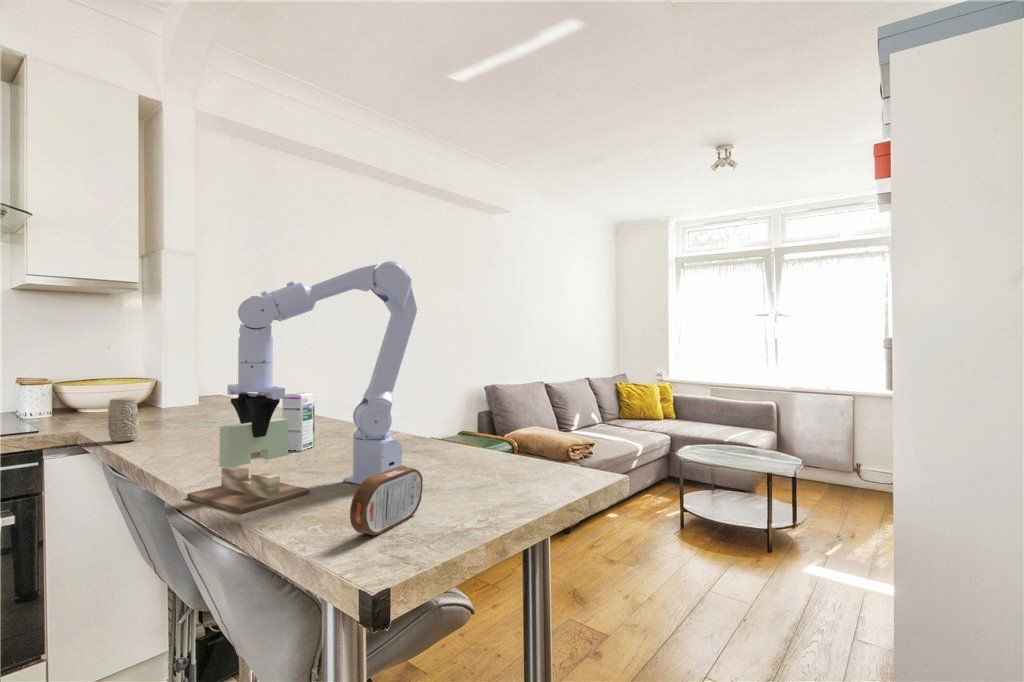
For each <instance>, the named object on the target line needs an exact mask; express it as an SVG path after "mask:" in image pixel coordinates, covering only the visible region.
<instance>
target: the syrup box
mask: <svg viewBox="0 0 1024 682" xmlns="http://www.w3.org/2000/svg"><path fill="white" fill-rule="evenodd" d="M281 401H282V402H281V404H282V405H281V407H282V412H281V413H282V415H281V416H282V417H281V418H283V419H289V426H288V450H296V451H295V452H303V451H306V450H309V449H312V448H314V447H316V443H315V442H316V437H315V433H316V432H315V425H316V424H315V421H316V420H315V418H316V417H315V415H316V414H315V411H316V410H315V392H308V391H307V392H306V391H302V392H300V391H299V392H293V393H287V394H286V393H285V399H281ZM311 447H312V448H311ZM308 448H309V449H308Z"/></svg>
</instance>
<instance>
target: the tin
mask: <svg viewBox="0 0 1024 682" xmlns="http://www.w3.org/2000/svg"><path fill="white" fill-rule="evenodd" d="M423 482H424V480H423V475H422V473H421V471H419V470H418V469H416V468H413V467H410V466H406V465H403V464H402V466H398V467H395V468H392V469H389V470H386V471H383V472H380V473H377V474H374V475H371V476H369V477H367V478H366V479H365V480H364V481H363V482H362V483H361V484H358V485H359V486H358V487H357V489H356V490H355V492H354V495H353V497H352V500H351V504H350V508H349V518H350V519H349V521H350V524H351V526H352V528H353V530H354V531H355V532H357V533H360V534H365V535H370V536H377V535H380V534H382V533H384V532H386V531H388V530H390V529H392V528H394V527H396V526H398V525H399V524H402V523H404V522H405V521H407V520H409V519H411V518H412V517H413V516H414V515H415V513H416V512H417V511H418V509H419V506H420V504H421V502H422V494H423Z"/></svg>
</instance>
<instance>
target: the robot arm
mask: <svg viewBox="0 0 1024 682" xmlns="http://www.w3.org/2000/svg"><path fill="white" fill-rule="evenodd" d="M353 290H358V291H362V292H369V291H371V292H372V293H373V294H374V295H375V296H377V297H378V298H379V299H380V300H381V301H382V302H383V303H384V305H385V306H386V308H387V309H388V311H389V313H390V316H389V320H388V322H387V327H386V329H385V333H384V336H383V339H382V343H381V345H380V349H379V351H378V354H377V355H378V356H377V358H376V362H375V365H374V369H373V371H372V375H371V378H370V382H369V384H368V387H367V388H366V391H364V394H363V396H362V399H361V401H360V402H359V404H358V405H356V407H355V408H354V409H353V413H352V419H353V423H354V424H355V426H356V427H357V428H356V431H355V432H354V433H353V434H352V436H353V437H352V475H351V476H347V477H344V478H343V479H342V481H343V482H346V483H351V484H355V485H360V484H361V483H362V482H363V481H364V480H365V479H366V478H367V477H369V476H371V475H374V474H377V473H380V472H383V471H386V470H389V469H392V468H395V467H398V466H402V465H403V464H402V463H403V449H402V444H401V443H400V442H399V440H397V439H394V438H393V437H392V436H391V432H390V428H391V426H392V422H393V420H392V414H391V411H392V406H393V391H394V388H395V385H396V382H397V379H398V376H399V372H400V369H401V364H402V362H403V358H404V355H405V354H406V353H405V352H406V349H407V346H408V343H409V340H410V336H411V332H412V329H413V325H414V322H415V320H416V318H417V317H416V316H417V313H418V311H417V310H418V308H417V304H416V300H415V296H414V291H413V287H412V278H411V276H410V275H409V273H408V272H407V271H406V269H405V268H404V267H403V266H402V265H401V264H400V263H398V262H396V261H384V262H383V263H381V264H380V265H378V264H372V265H367V266H363V267H359V268H355V269H353V270H350V271H348V272H344V273H342V274H339V275H336V276H335V277H331V278H329V279H326V280H323V281H320V282H318V283H315V284H312V285H308V284H305V283H303V282H300V281H299V282H297V283H295V282H294V281H290V282H287V283H286V286H285V287H282V288H279V289H277V290H273V291H270V292H267V291H262V292H260V295H261V296H259V295H252V296H250V297H249V298H246V299H245V300H243V301H242V302H241V303H240V305H239V306H238V310H237V316H238V319H239V320H240V322H241V324H239V330H238V333H239V335H240V336H239V337H238V351H237V353H238V356H237V358H238V359H237V361H238V363H237V365H238V366H237V367H238V368H237V370H238V371H237V383H233V384H232V383H231V384H227V395H228V396H231V395H232V396H234V395H235V396H237V397H235V398H234V397H233V398H230V403H231V405H232V406H233V407H234V410H235V412H236V414H237V417H238V419H239V424H244V423H251V422H252V433H253V436H254V437H255V438H257V437H263V436H266V434H267V430H268V426H269V423H270V420H272V416H273V415H274V412H275V410H276V409H277V407H278V405H279V403H280V402H281V401H280V400H282V399H285V395H286V387H280V386H276V385H273V381H274V380H273V377H274V376H273V373H274V372H273V371H274V369H273V368H274V367H273V365H274V363H273V362H274V361H273V360H274V355H273V354H274V338H273V337H272V323H273V322H274V321H278V322H283V321H285V320H288V319H291V318H295V317H297V316H300V315H302V314H306V313H309V312H310V311H313V309H314V308H315V305H316V302H318V301H321V300H324V299H328V298H331V297H333V296H337V295H340V294H343V293H346V292H349V291H353Z"/></svg>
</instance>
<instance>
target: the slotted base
mask: <svg viewBox="0 0 1024 682" xmlns="http://www.w3.org/2000/svg"><path fill="white" fill-rule="evenodd" d="M249 470H250V469H249V468H247V467H242V466H236V467H231V468H224V467H221V483H220V484H221V485H216V486H213V487H210V488H206V489H202V490H201V489H200V490H196V491H193V492H188V493H186V496H187V499H189V500H193V501H196V502H199V503H202V504H207V505H210V506H213V507H216V508H220V509H223V510H227V511H231V512H234V513H237V514H240V515H243V514H246V513H250V512H254V511H256V510H260V509H262V508H266V507H270V506H272V505H275V504H279V503H283V502H285V501H289V500H292V499H293V500H294V499H295V498H298V497H299V498H300V497H302V496H303V497H304V496H305V495H308V494H309V495H310V491H311V490H310V488H307V487H301V486H298V485H293V484H289V483H285V482H280V478H281V476H280V475H279V474H275V473H274V474H273V473H270V472H265V471H258V472H254V473H251V474H249V473H250V472H249ZM249 475H250V478H249Z"/></svg>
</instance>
